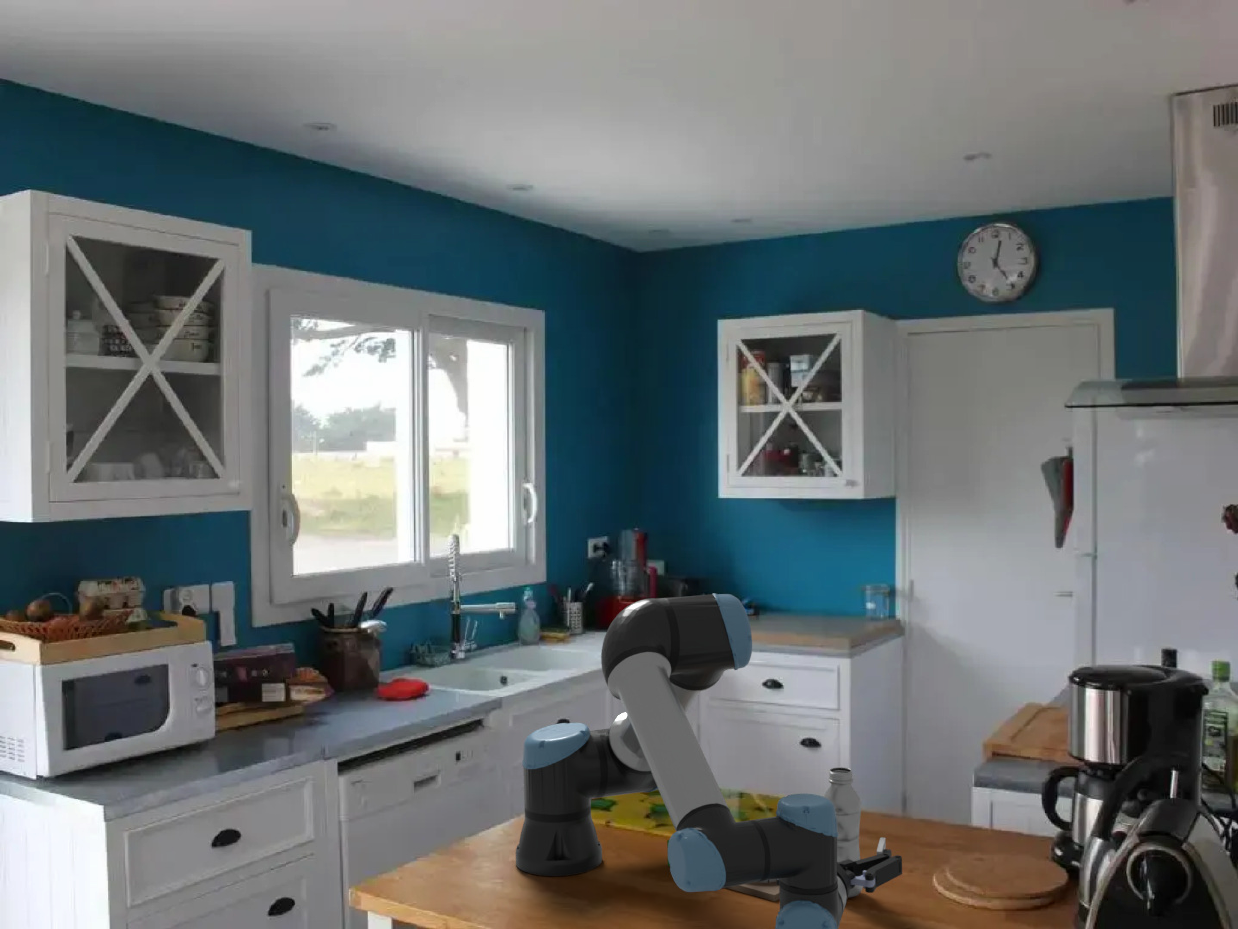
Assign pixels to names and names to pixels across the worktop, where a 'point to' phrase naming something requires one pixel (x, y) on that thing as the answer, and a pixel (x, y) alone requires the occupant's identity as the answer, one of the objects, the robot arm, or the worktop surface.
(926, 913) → the worktop surface
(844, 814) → the plastic bottle
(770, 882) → the ring board
